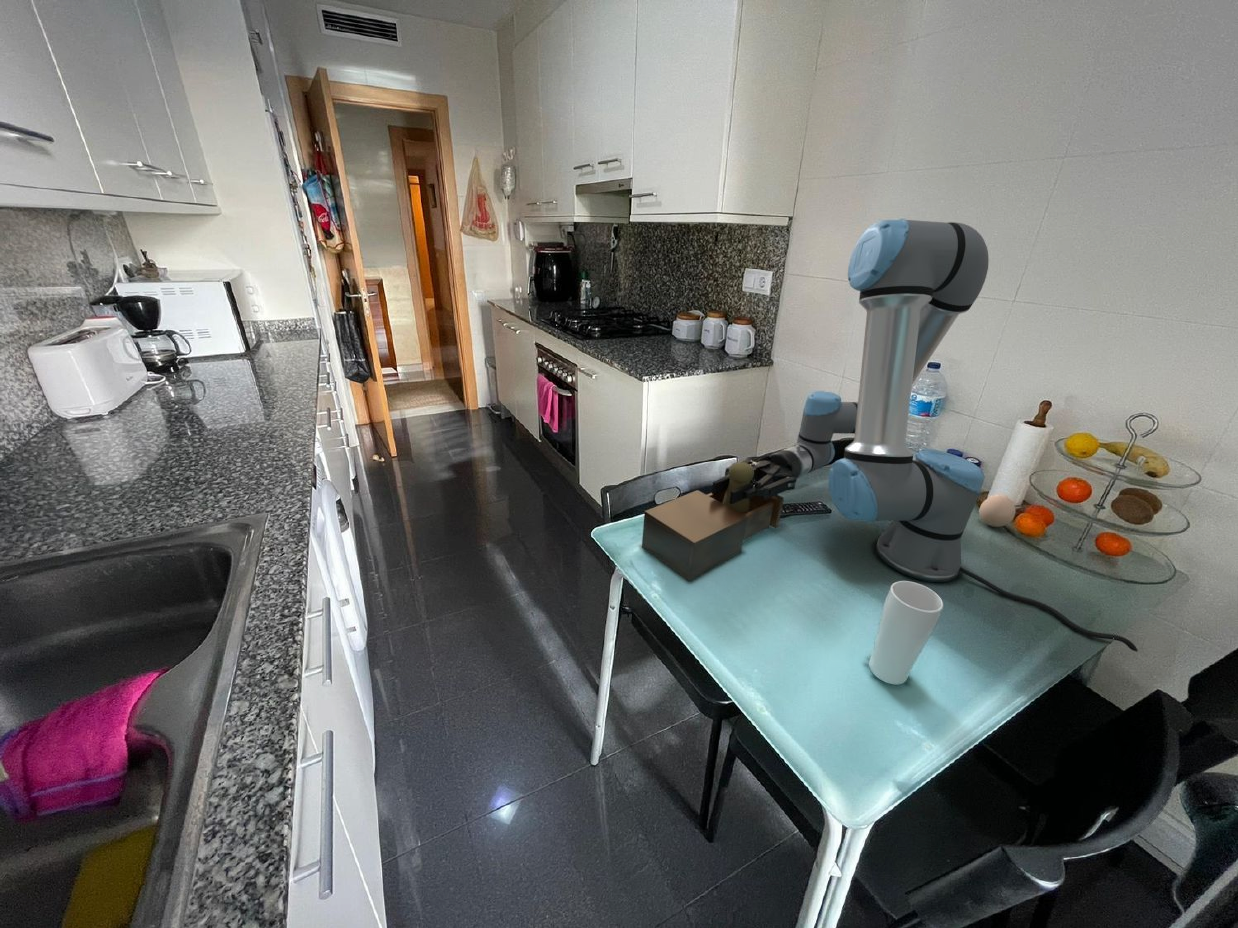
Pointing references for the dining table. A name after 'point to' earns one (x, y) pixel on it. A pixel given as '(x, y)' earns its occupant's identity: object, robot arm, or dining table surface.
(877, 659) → the drinking glass
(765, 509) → the drawer
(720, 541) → the cabinet
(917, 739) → the dining table surface
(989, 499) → the egg
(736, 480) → the olive pawn figure
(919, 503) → the robot arm
